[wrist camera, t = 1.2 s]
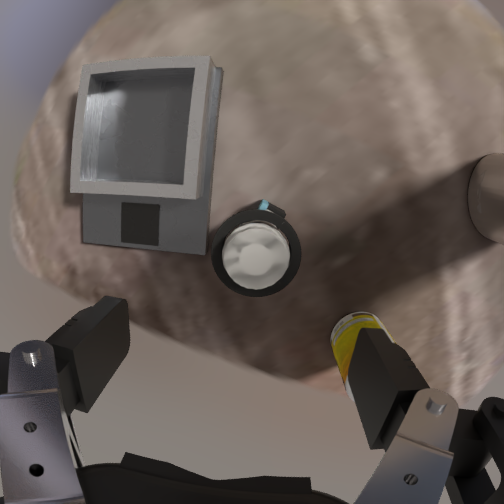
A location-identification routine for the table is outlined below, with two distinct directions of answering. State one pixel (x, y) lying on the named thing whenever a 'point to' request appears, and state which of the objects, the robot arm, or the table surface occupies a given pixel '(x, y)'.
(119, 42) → the table surface
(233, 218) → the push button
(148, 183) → the gray open box
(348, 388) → the supplement bottle
